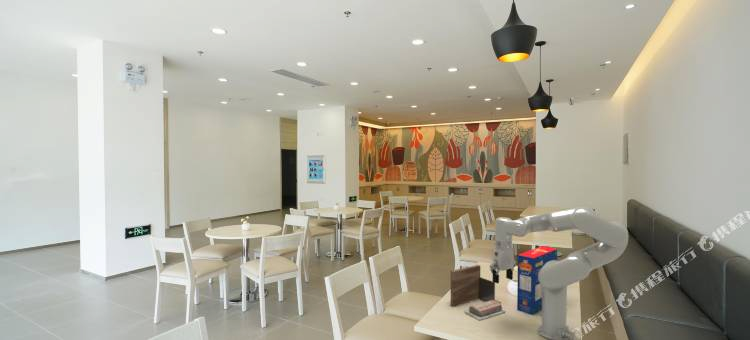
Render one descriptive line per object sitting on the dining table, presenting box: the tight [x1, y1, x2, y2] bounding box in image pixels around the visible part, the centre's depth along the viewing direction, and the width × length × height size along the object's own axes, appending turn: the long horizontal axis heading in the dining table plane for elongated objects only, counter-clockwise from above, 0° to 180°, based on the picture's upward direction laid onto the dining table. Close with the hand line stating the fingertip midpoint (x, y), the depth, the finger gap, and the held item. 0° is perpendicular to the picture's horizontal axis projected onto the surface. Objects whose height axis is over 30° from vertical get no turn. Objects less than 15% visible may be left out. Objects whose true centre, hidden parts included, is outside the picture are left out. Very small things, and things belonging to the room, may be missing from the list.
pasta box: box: [516, 245, 558, 316], centre depth 185 cm, size 28×8×28 cm, turn 132°
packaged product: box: [464, 300, 506, 321], centre depth 176 cm, size 18×5×10 cm
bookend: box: [478, 276, 502, 304], centre depth 190 cm, size 10×6×12 cm, turn 32°
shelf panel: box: [450, 264, 481, 308], centre depth 189 cm, size 2×20×18 cm, turn 122°
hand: (502, 280), depth 167 cm, fingers open, 9 cm apart
